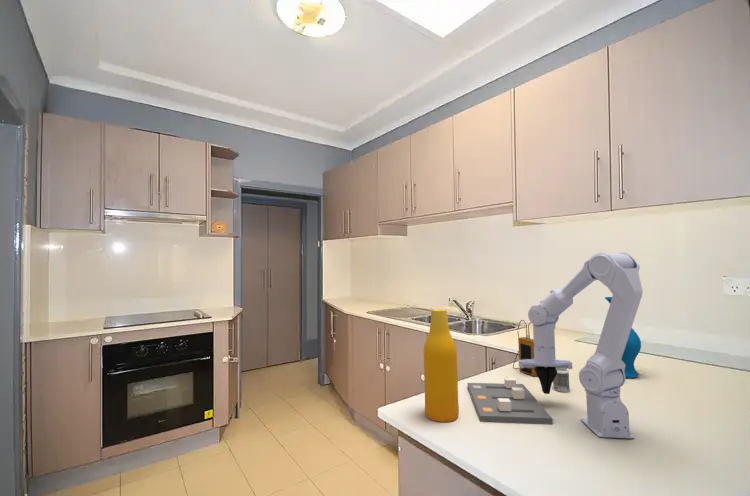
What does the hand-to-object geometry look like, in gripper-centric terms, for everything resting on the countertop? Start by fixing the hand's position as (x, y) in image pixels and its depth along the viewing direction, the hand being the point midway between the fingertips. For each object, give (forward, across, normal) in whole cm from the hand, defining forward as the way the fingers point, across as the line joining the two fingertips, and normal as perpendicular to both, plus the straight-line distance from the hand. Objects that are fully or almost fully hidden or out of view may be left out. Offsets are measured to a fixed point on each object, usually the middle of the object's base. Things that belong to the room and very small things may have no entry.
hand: (546, 392), depth 103 cm
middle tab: (+2, +8, 0) cm, 8 cm away
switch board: (+3, +12, 0) cm, 12 cm away
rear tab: (+2, +8, -9) cm, 12 cm away
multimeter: (+4, -7, -31) cm, 32 cm away
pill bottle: (+4, -9, -13) cm, 16 cm away
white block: (+2, +14, +9) cm, 17 cm away
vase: (+4, -37, -31) cm, 48 cm away
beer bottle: (+4, +31, +10) cm, 33 cm away
